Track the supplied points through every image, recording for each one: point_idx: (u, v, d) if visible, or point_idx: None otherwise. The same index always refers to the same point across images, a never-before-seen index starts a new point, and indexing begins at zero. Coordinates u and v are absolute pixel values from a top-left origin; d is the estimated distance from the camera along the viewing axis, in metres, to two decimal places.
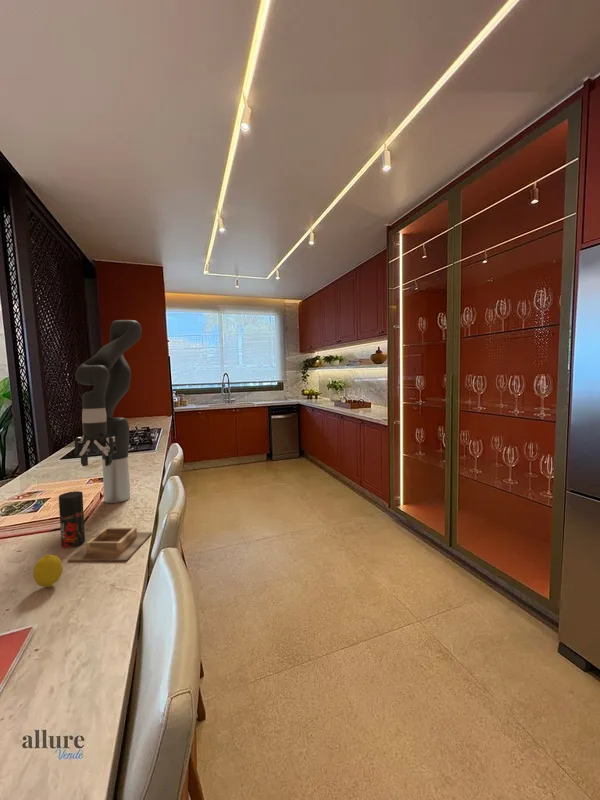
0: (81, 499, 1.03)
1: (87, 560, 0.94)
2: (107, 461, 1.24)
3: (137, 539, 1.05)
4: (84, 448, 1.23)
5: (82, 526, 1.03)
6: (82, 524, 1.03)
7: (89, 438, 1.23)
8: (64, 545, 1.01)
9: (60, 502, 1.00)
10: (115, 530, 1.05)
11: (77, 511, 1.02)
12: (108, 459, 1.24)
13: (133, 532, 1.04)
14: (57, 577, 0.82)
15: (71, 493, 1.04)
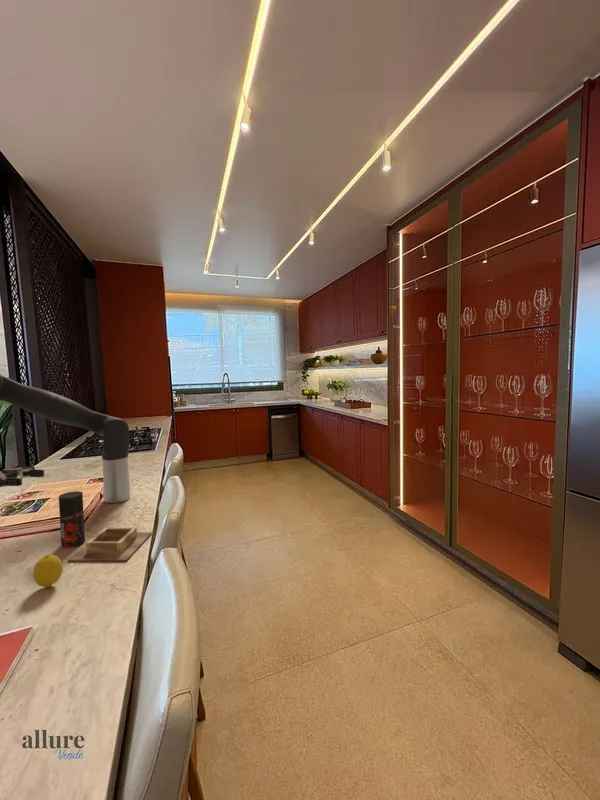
0: (81, 499, 1.03)
1: (87, 560, 0.94)
2: (14, 485, 0.97)
3: (137, 539, 1.05)
4: None
5: (82, 526, 1.03)
6: (82, 524, 1.03)
7: None
8: (64, 545, 1.01)
9: (60, 502, 1.00)
10: (115, 530, 1.05)
11: (77, 511, 1.02)
12: None
13: (133, 532, 1.04)
14: (57, 577, 0.82)
15: (71, 493, 1.04)
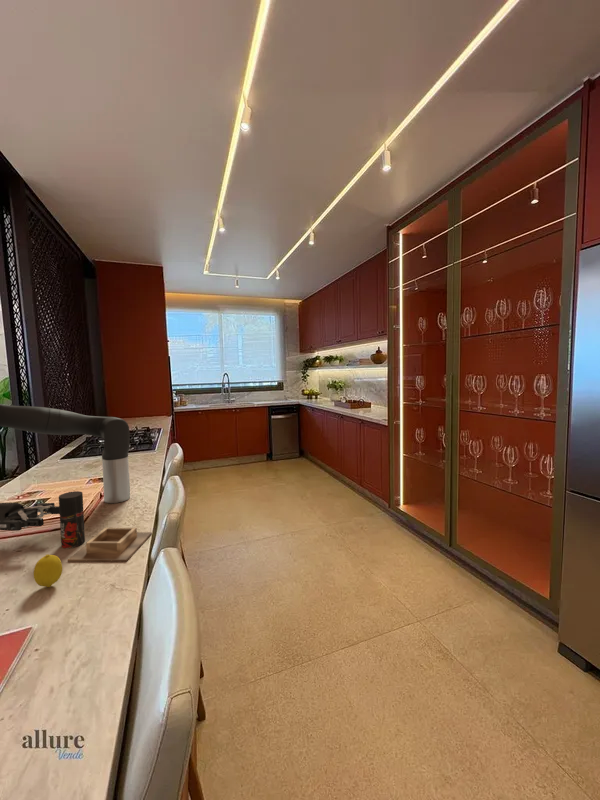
0: (81, 499, 1.03)
1: (87, 560, 0.94)
2: (35, 525, 0.99)
3: (137, 539, 1.05)
4: None
5: (82, 526, 1.03)
6: (82, 524, 1.03)
7: None
8: (64, 545, 1.01)
9: (60, 502, 1.00)
10: (115, 530, 1.05)
11: (77, 511, 1.02)
12: None
13: (133, 532, 1.04)
14: (57, 577, 0.82)
15: (71, 493, 1.04)
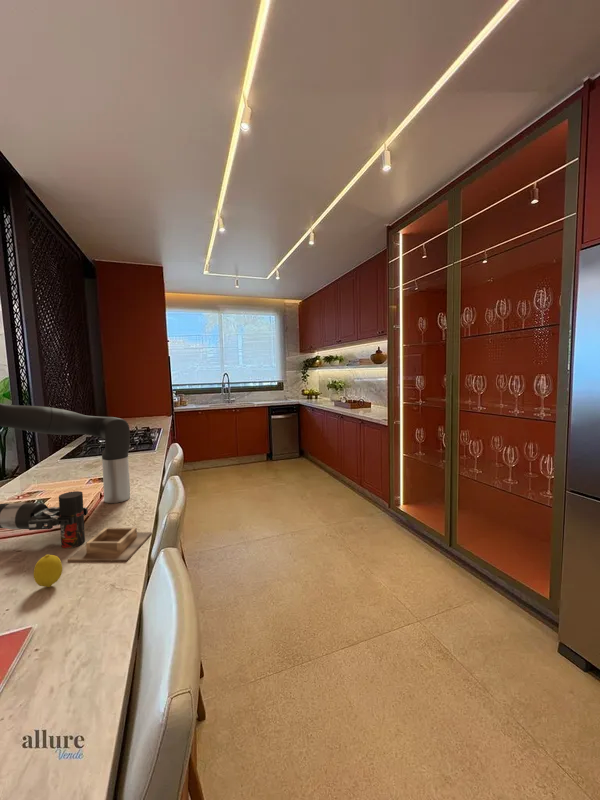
0: (81, 499, 1.03)
1: (87, 560, 0.94)
2: None
3: (137, 539, 1.05)
4: None
5: (82, 526, 1.03)
6: (82, 524, 1.03)
7: None
8: (64, 545, 1.01)
9: (60, 502, 1.00)
10: (115, 530, 1.05)
11: (77, 511, 1.02)
12: None
13: (133, 532, 1.04)
14: (57, 577, 0.82)
15: (71, 493, 1.04)
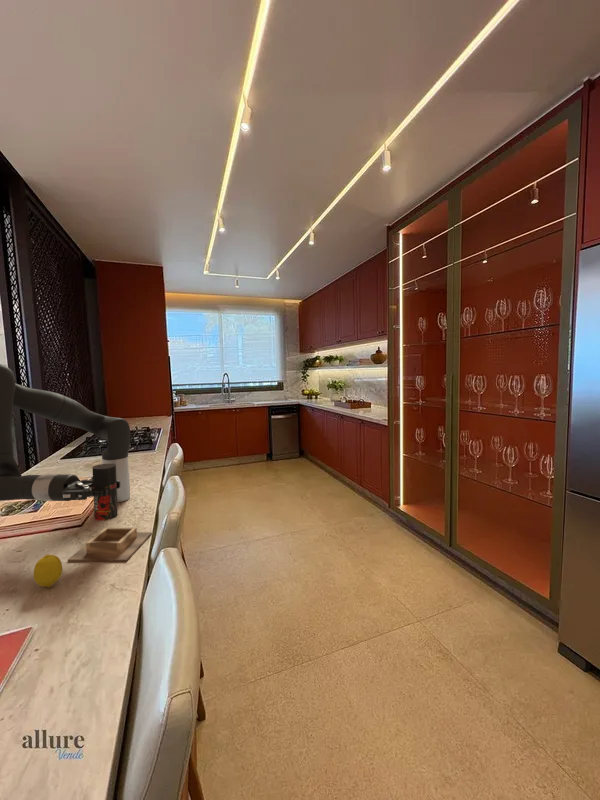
0: (115, 471, 1.00)
1: (87, 560, 0.94)
2: (100, 495, 0.97)
3: (137, 539, 1.05)
4: None
5: (115, 499, 1.00)
6: (115, 497, 1.00)
7: None
8: (97, 518, 0.98)
9: (94, 473, 0.97)
10: (115, 530, 1.05)
11: (111, 483, 0.99)
12: None
13: (133, 532, 1.04)
14: (57, 577, 0.82)
15: (104, 465, 1.01)
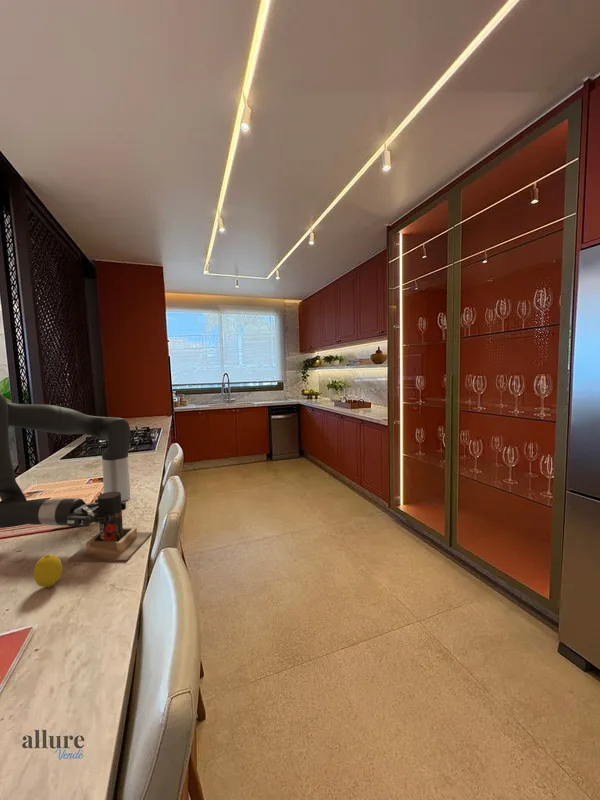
0: (120, 499, 1.01)
1: (87, 560, 0.94)
2: (103, 521, 0.96)
3: (137, 539, 1.05)
4: None
5: (121, 527, 1.01)
6: (121, 525, 1.01)
7: None
8: None
9: (99, 502, 0.98)
10: None
11: (116, 511, 0.99)
12: None
13: (133, 532, 1.04)
14: (57, 577, 0.82)
15: (109, 493, 1.01)
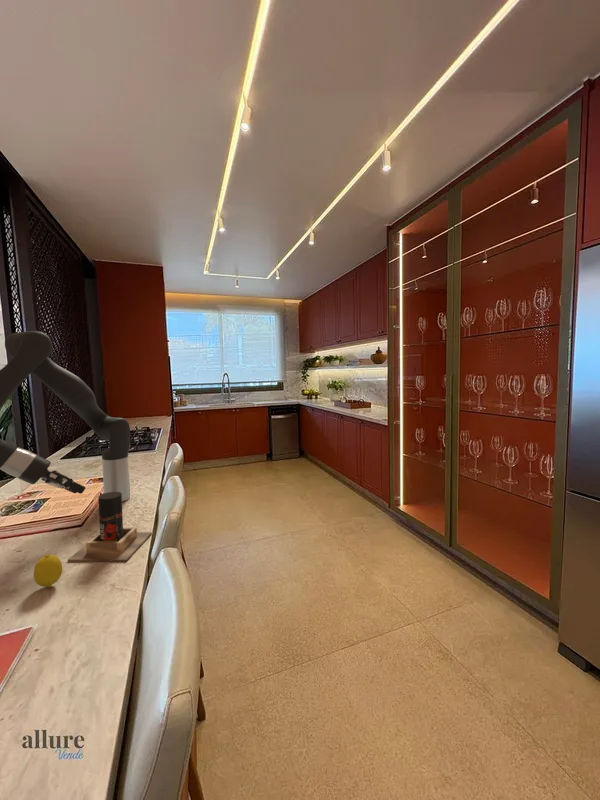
0: (120, 500, 1.01)
1: (87, 560, 0.94)
2: (76, 490, 1.03)
3: (137, 539, 1.05)
4: (54, 486, 1.05)
5: (121, 527, 1.01)
6: (121, 525, 1.01)
7: (44, 479, 1.03)
8: None
9: (100, 503, 0.98)
10: None
11: (117, 512, 0.99)
12: (74, 489, 1.02)
13: (133, 532, 1.04)
14: (57, 577, 0.82)
15: (110, 493, 1.01)
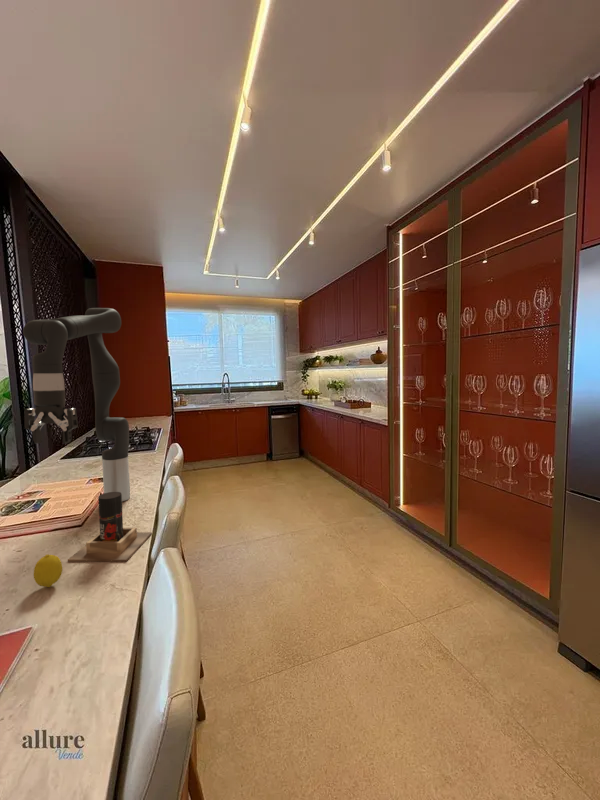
0: (120, 500, 1.01)
1: (87, 560, 0.94)
2: (65, 438, 1.02)
3: (137, 539, 1.05)
4: (36, 422, 1.01)
5: (121, 527, 1.01)
6: (121, 525, 1.01)
7: (42, 410, 1.01)
8: None
9: (100, 503, 0.98)
10: None
11: (117, 512, 0.99)
12: (67, 435, 1.02)
13: (133, 532, 1.04)
14: (57, 577, 0.82)
15: (110, 493, 1.01)
